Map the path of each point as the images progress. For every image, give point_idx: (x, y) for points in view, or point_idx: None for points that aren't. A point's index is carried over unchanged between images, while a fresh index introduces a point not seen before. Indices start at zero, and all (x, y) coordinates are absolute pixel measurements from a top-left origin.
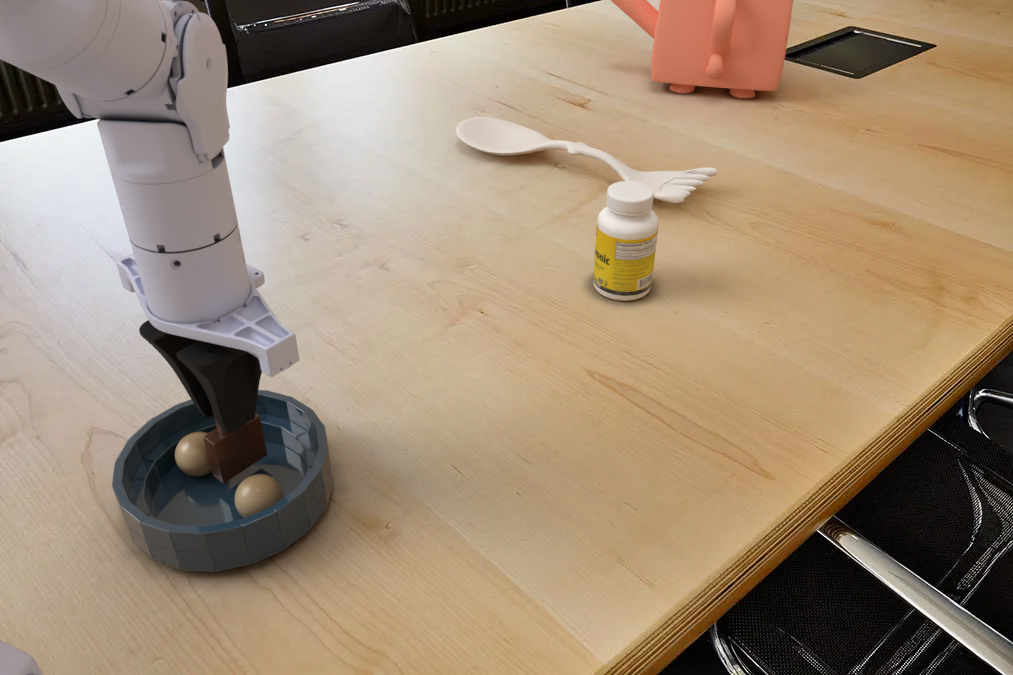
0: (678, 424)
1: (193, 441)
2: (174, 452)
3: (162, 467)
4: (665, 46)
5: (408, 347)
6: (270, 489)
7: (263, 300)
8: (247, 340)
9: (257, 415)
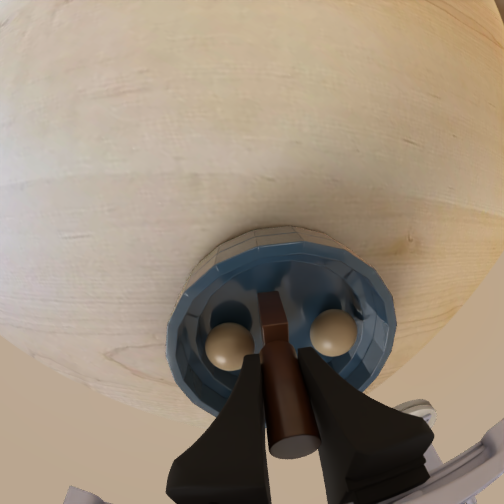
0: (456, 15)
1: (234, 364)
2: (202, 352)
3: (211, 364)
4: None
5: (203, 26)
6: (354, 335)
7: (460, 502)
8: (473, 496)
9: (286, 325)
